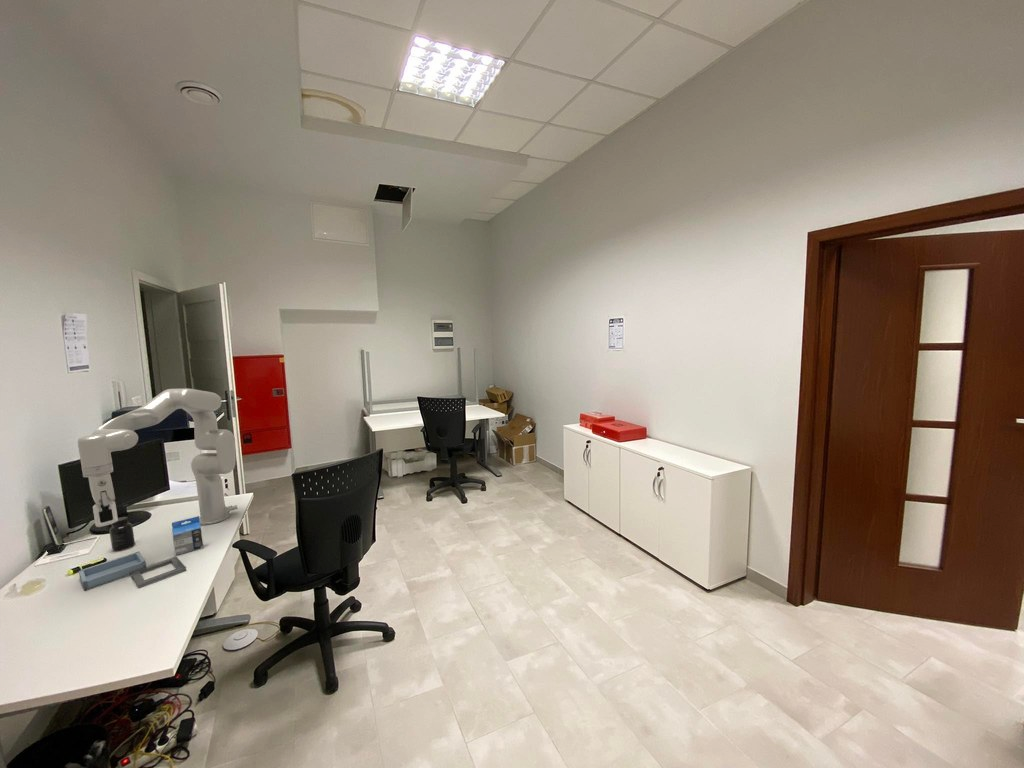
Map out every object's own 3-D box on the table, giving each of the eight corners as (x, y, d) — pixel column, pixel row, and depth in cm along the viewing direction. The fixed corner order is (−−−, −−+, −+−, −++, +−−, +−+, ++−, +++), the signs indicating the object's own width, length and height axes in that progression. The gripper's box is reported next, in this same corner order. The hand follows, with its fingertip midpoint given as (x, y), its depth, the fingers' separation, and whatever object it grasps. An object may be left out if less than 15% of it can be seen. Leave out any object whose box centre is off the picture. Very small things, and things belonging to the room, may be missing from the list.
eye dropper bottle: (116, 523, 145) (111, 491, 144) (94, 528, 142) (89, 495, 140) (119, 519, 148) (114, 487, 147) (97, 524, 145) (92, 491, 144)
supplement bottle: (139, 543, 170) (135, 515, 168) (122, 551, 163) (118, 523, 162) (125, 542, 170) (120, 515, 169) (107, 551, 164) (102, 522, 162)
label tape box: (175, 556, 158) (171, 525, 157) (175, 552, 161) (171, 522, 160) (203, 548, 164) (199, 518, 162) (202, 544, 167) (199, 515, 166)
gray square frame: (176, 559, 156) (176, 556, 156) (186, 570, 148) (185, 567, 148) (130, 575, 146) (130, 572, 146) (138, 588, 138) (138, 585, 138)
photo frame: (34, 565, 154) (50, 546, 168) (34, 567, 154) (51, 548, 168) (88, 552, 162) (100, 535, 176) (89, 555, 162) (100, 537, 177)
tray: (139, 558, 157) (138, 551, 157) (146, 569, 150) (145, 561, 149) (79, 578, 145) (78, 570, 144) (84, 591, 137) (83, 582, 137)
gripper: (116, 471, 140) (124, 521, 143) (108, 462, 151) (116, 510, 153) (85, 477, 135) (94, 530, 137) (79, 468, 145) (87, 517, 147)
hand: (105, 519), depth 145 cm, fingers closed on eye dropper bottle, 3 cm apart
